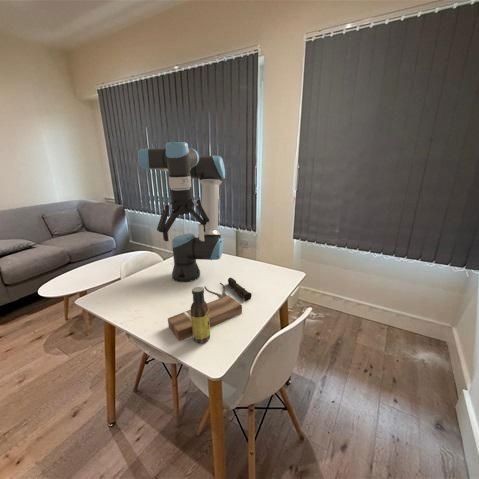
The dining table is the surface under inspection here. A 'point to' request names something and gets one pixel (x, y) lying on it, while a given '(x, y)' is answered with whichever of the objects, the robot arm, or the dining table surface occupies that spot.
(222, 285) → the pliers
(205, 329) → the sauce bottle
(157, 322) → the dining table surface
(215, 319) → the walnut plank
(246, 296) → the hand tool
